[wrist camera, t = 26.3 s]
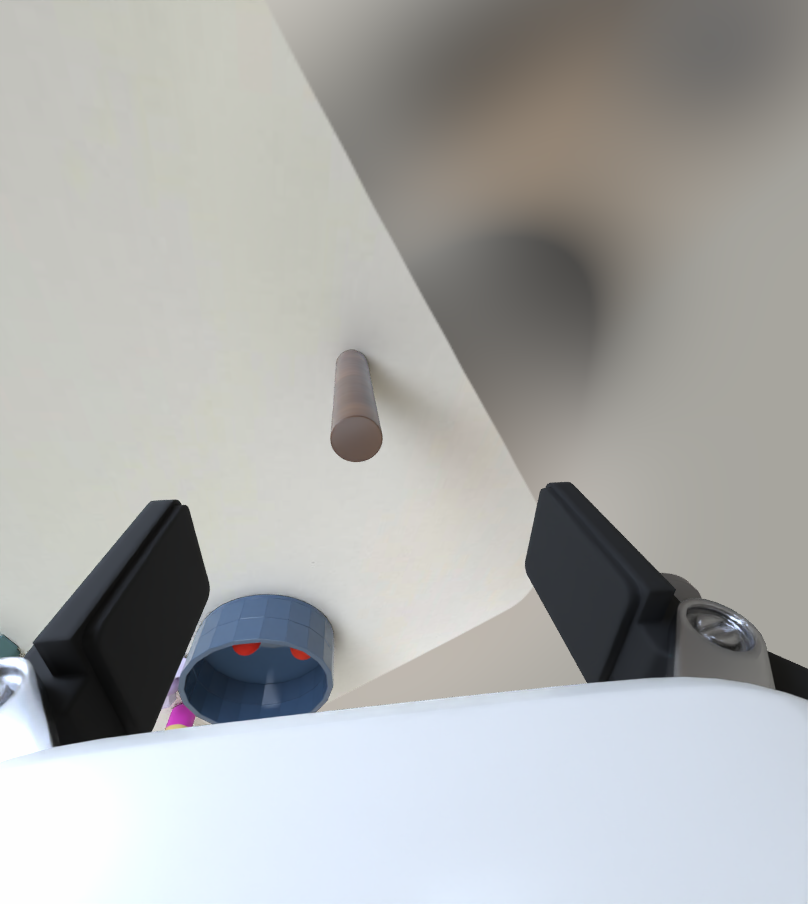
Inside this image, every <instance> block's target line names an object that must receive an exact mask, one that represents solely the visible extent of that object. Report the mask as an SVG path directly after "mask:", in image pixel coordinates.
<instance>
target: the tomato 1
mask: <svg viewBox="0 0 808 904" xmlns="http://www.w3.org/2000/svg"><path fill="white" fill-rule="evenodd" d="M260 644H261V643H250V644H239V645H233V646H232V647H233V649H234V651H235V652H236V653H237V654H239V655H243V656H246V655H250V654H252V653H254V652H255V651H256V650H257V649H258V648H259V646H260Z"/></svg>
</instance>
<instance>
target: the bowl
mask: <svg viewBox="0 0 808 904" xmlns="http://www.w3.org/2000/svg"><path fill="white" fill-rule="evenodd" d="M250 643H261V644H260V646H259V648H258V649H257V650H256V651H255V652H254V653H252V654H250V655H246V656H243V655H239V654H237V653H236V652H235V651H234V649H233V647H232V646H233V645H239V644H250ZM290 647H291V648H294V649H297V650H300V651H303V652H304V653H306V654H307V655H309V656H310V658H309V659H306V660H299V659H297V658H295V657H294V656H293V655H292V653H291V650H290ZM333 676H334V633H333V629H332V626H331V624H330V622H329V621H328V619H327V618H326V617H325V616H324V615H323V614H322V613H321V612H320V611H319V610H318V609H316V608H315V607H313V606H312V605H310V604H308V603H306V602H304V601H301V600H298V599H295V598H291V597H287V596H281V595H268V594H267V595H253V596H247V597H242V598H238V599H235V600H232V601H230V602H228V603H225V604H223V605H221V606H220V607H218V608H217V609H215V610H214V611H213V612H211V613H210V614H209V615H208V616H207V617H206V618H205V619H204V621H203V622H202V624H201V626H200V628H199V629H198V631H197V633H196V636H195V638H194V641H193V643H192V646H191V648H190V651H189V653H188V656H187V658H186V661H185V664H184V666H183V669H182V671H181V674H180V678H179V685H178V692H179V694H180V697H181V699H182V702H183V704H184V705H185V706H186V707H187V708H188V709H189V710H190V711H191V712H192V713H193V714H194V715H195V716H197V717H199V718H201V719H203V720H205V721H207V722H209V723H211V724H220V723H228V722H237V721H246V720H254V719H263V718H272V717H280V716H289V715H297V714H306V713H315V712H317V711H318V710H319V709H320V708H321V707H322V706H323V705H324V704H325V703H326V702H327V700H328V698H329V696H330V693H331V691H332V688H333Z"/></svg>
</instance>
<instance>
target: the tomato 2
mask: <svg viewBox="0 0 808 904" xmlns="http://www.w3.org/2000/svg"><path fill="white" fill-rule="evenodd" d="M290 650H291V653H292V655H293V656H294V657H295V658H297V659H299V660H306V659H309V658H310V656H309V655H307V654H306V653H304V652H303V651H300V650H297V649H294V648H291V647H290Z"/></svg>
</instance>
